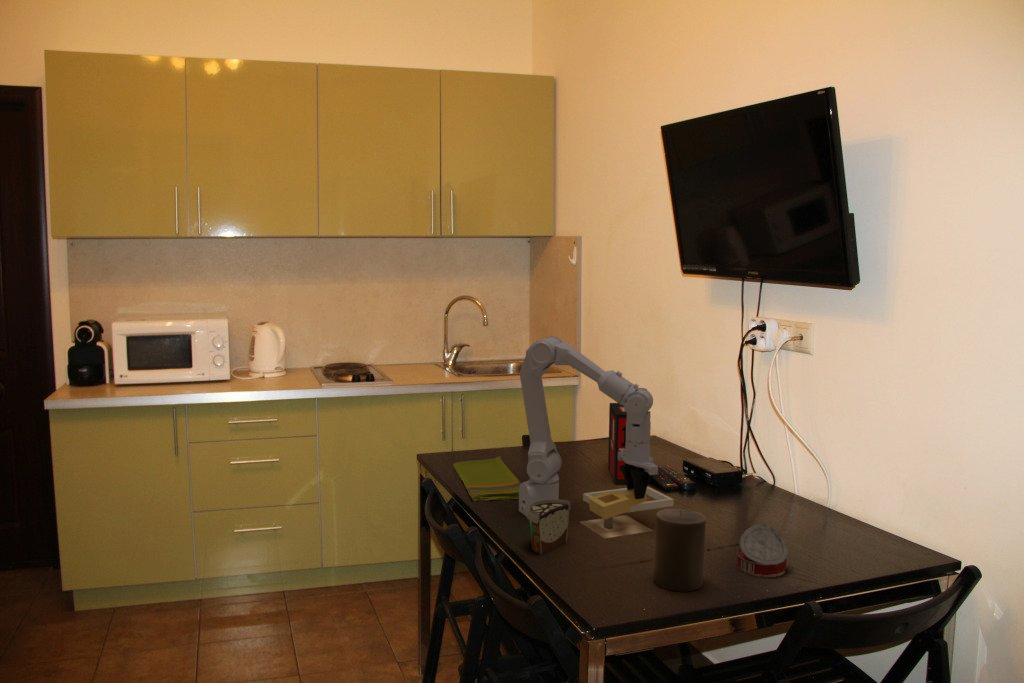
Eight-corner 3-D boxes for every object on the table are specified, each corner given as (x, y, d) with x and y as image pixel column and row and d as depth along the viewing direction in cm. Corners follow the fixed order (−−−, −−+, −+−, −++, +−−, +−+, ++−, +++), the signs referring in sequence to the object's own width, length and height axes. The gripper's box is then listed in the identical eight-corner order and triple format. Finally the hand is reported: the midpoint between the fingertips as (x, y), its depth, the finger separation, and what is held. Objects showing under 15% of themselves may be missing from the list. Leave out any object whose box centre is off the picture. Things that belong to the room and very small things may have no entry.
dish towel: (472, 504, 215) (472, 492, 215) (451, 467, 250) (451, 457, 250) (530, 501, 219) (530, 489, 218) (501, 465, 253) (501, 454, 253)
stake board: (604, 541, 188) (605, 518, 187) (579, 525, 199) (579, 502, 198) (653, 533, 193) (653, 511, 193) (625, 518, 204) (626, 496, 204)
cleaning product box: (608, 468, 248) (609, 402, 246) (637, 469, 248) (639, 403, 246) (615, 485, 232) (616, 414, 229) (647, 485, 232) (648, 414, 229)
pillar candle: (679, 596, 160) (683, 520, 158) (643, 579, 167) (646, 507, 166) (713, 584, 165) (717, 511, 164) (676, 568, 173) (680, 498, 171)
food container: (548, 537, 191) (549, 495, 190) (570, 543, 187) (571, 500, 186) (514, 552, 181) (514, 508, 180) (536, 559, 177) (537, 514, 176)
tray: (608, 518, 204) (608, 508, 204) (582, 502, 216) (583, 493, 215) (673, 508, 212) (673, 499, 211) (645, 494, 223) (645, 485, 223)
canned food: (781, 587, 176) (807, 551, 172) (760, 597, 168) (787, 560, 165) (740, 550, 182) (763, 515, 179) (718, 558, 175) (742, 522, 171)
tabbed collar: (604, 519, 190) (603, 506, 190) (589, 510, 197) (588, 498, 196) (652, 504, 195) (651, 492, 195) (636, 495, 202) (635, 483, 201)
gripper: (669, 446, 191) (667, 503, 193) (635, 432, 204) (634, 486, 206) (643, 449, 188) (641, 507, 190) (610, 435, 201) (609, 489, 203)
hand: (636, 496), depth 198 cm, fingers closed on tabbed collar, 2 cm apart
